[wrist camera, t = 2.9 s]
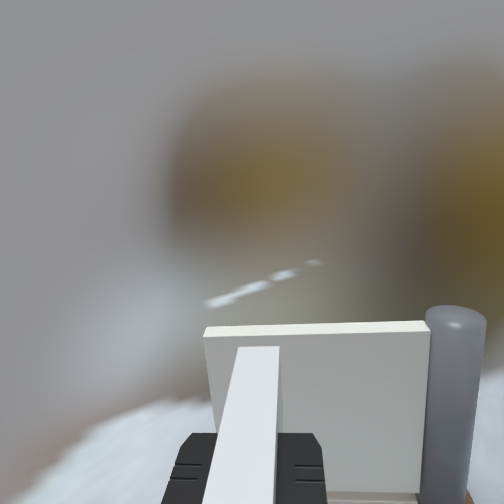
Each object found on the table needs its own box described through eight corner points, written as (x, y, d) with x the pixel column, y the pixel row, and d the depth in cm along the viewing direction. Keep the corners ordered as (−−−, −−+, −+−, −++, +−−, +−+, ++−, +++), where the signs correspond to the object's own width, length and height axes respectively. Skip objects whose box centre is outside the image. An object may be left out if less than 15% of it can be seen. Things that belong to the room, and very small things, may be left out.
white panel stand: (452, 482, 26) (471, 304, 22) (472, 525, 24) (497, 329, 19) (230, 478, 28) (208, 312, 24) (224, 517, 25) (198, 337, 21)
